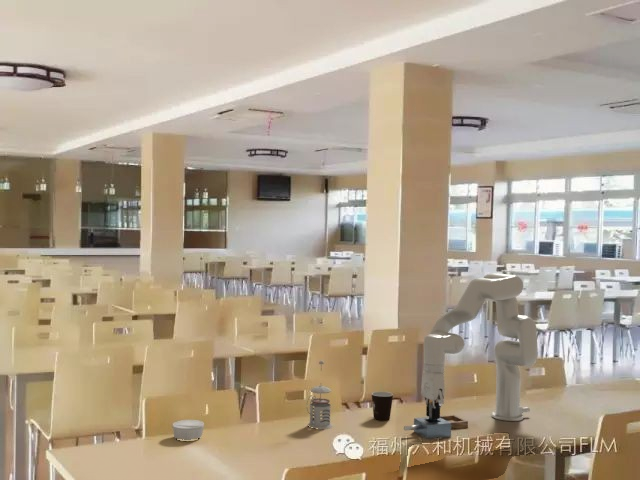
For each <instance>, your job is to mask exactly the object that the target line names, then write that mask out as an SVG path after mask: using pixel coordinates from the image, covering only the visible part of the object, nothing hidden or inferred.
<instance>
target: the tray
mask: <svg viewBox="0 0 640 480" xmlns="http://www.w3.org/2000/svg"><path fill="white" fill-rule="evenodd" d="M440 418H442V419H444V420H446V421H448V422H450V423H451V430H453V429H454V428H455V429H464V428H468V427H469V421H468V420H466V419H464V418H463V417H460V416H457V415H455V414H449V415H440Z"/></svg>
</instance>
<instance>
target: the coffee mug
mask: <svg viewBox="0 0 640 480" xmlns="http://www.w3.org/2000/svg"><path fill="white" fill-rule="evenodd" d="M393 397H394V394H393V393H392V392H389V391H374V392H371V402H372V413H373V420H375V421H378V422H388V421H390V419H391V412H392V405H393V399H394V398H393Z"/></svg>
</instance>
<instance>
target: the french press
mask: <svg viewBox="0 0 640 480" xmlns="http://www.w3.org/2000/svg"><path fill="white" fill-rule="evenodd" d="M324 364H325V362H324V360H320V361H318V365H320V370H322V368H323V367H322V366H323V365H324ZM309 391H310V393H313V394H320V397H319V398H317V397H316V395H314V396H313V394H311V395H309V397H308V398H307V401H306V404H308V403H309V399H310V398H311V400H310V403H309V409H308V408H306V411H307V413H308V414H309V423H308V424H307V425H309V426H310V427H313V428H318V429H317V430H328V428H329V429H332V428H333V424H332V423H331V408H332V407H331V404H330V402H331V400H330V399H328V398H322V394H329V393H331V391H332V389H330V388H329V387H327V386H324V385H322V384H320V385H316V386H314V387H312V388H311V389H309Z"/></svg>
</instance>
